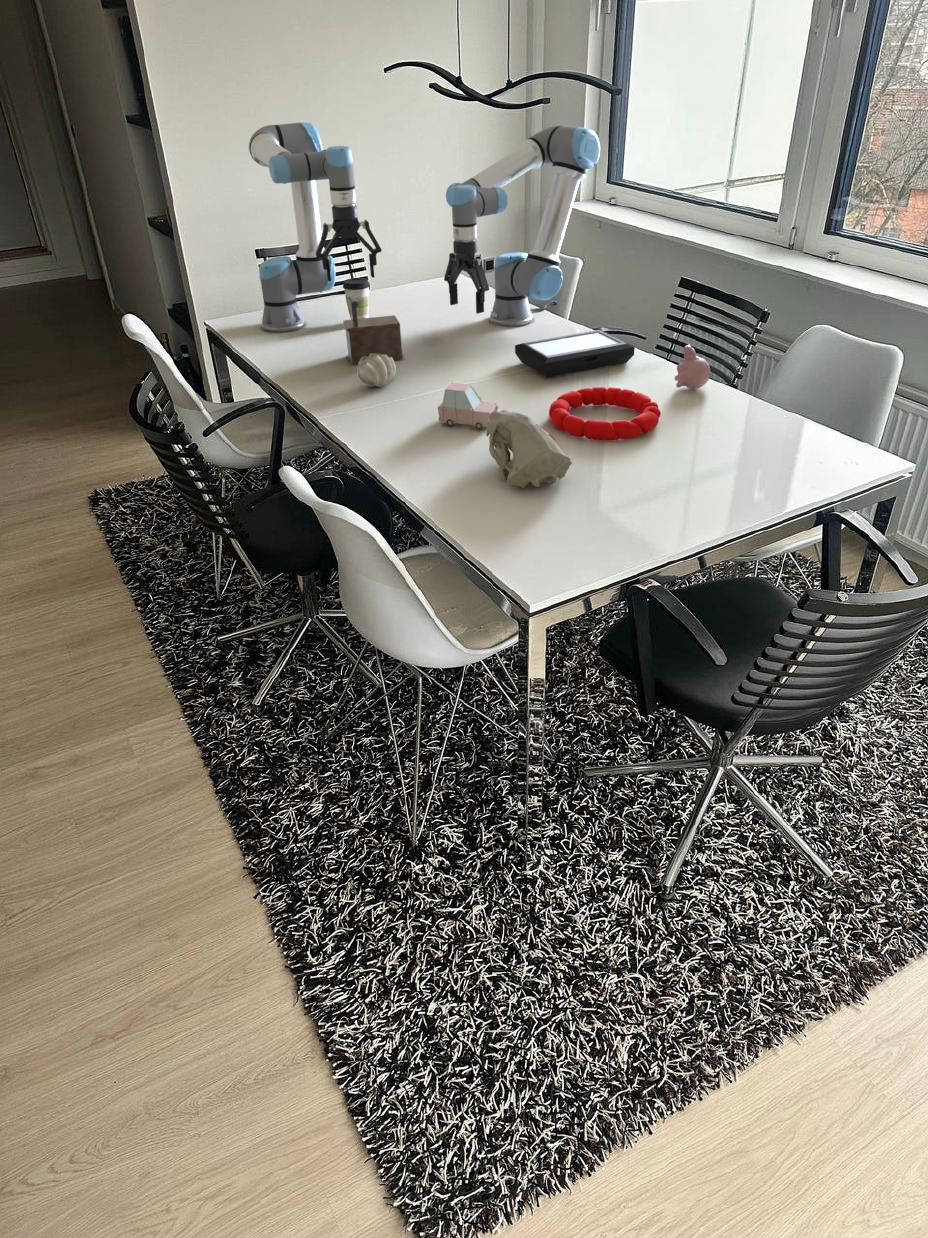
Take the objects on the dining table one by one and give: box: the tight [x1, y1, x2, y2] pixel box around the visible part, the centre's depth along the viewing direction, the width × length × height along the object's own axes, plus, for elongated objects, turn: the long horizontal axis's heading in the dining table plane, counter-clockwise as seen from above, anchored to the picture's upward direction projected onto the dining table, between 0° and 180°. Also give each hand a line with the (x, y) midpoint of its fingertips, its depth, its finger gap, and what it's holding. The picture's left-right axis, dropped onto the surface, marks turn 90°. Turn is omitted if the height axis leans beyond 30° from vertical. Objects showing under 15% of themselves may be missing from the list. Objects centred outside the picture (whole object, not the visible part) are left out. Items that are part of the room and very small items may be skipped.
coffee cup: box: [342, 277, 371, 320], centre depth 323 cm, size 10×10×15 cm
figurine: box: [674, 344, 711, 390], centre depth 259 cm, size 9×11×12 cm
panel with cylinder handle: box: [343, 295, 401, 332], centre depth 286 cm, size 17×10×9 cm, turn 104°
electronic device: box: [514, 329, 636, 379], centre depth 282 cm, size 32×6×20 cm
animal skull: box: [485, 409, 573, 489], centre depth 216 cm, size 17×25×20 cm
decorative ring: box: [548, 386, 661, 442], centre depth 242 cm, size 7×30×30 cm
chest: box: [345, 325, 403, 366], centre depth 291 cm, size 17×10×11 cm, turn 104°
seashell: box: [356, 353, 397, 388], centre depth 269 cm, size 10×15×10 cm
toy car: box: [437, 382, 499, 431], centre depth 243 cm, size 9×15×10 cm, turn 70°
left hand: (351, 278), depth 279 cm, fingers open, 13 cm apart
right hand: (466, 308), depth 293 cm, fingers open, 13 cm apart
